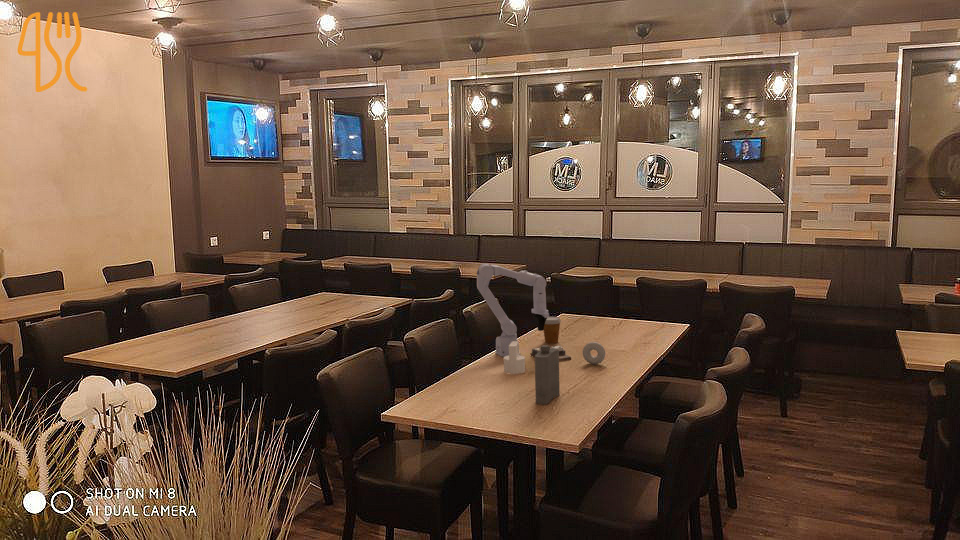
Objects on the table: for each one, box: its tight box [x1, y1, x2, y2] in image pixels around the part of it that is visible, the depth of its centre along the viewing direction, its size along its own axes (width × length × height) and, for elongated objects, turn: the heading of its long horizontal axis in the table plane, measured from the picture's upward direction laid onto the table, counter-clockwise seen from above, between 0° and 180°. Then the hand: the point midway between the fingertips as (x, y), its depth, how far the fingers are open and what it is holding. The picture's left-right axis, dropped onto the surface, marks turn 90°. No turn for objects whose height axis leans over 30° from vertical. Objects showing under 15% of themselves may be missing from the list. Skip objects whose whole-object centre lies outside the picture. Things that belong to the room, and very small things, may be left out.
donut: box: [582, 341, 606, 365], centre depth 314 cm, size 10×4×10 cm, turn 67°
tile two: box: [550, 345, 564, 351], centre depth 330 cm, size 4×4×2 cm
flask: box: [534, 344, 561, 406], centre depth 268 cm, size 15×6×20 cm, turn 153°
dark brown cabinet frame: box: [529, 348, 572, 362], centre depth 328 cm, size 13×15×3 cm
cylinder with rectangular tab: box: [503, 340, 526, 375], centre depth 307 cm, size 9×9×12 cm
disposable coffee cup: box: [543, 316, 562, 344], centre depth 358 cm, size 10×10×12 cm
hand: (540, 330), depth 337 cm, fingers closed
